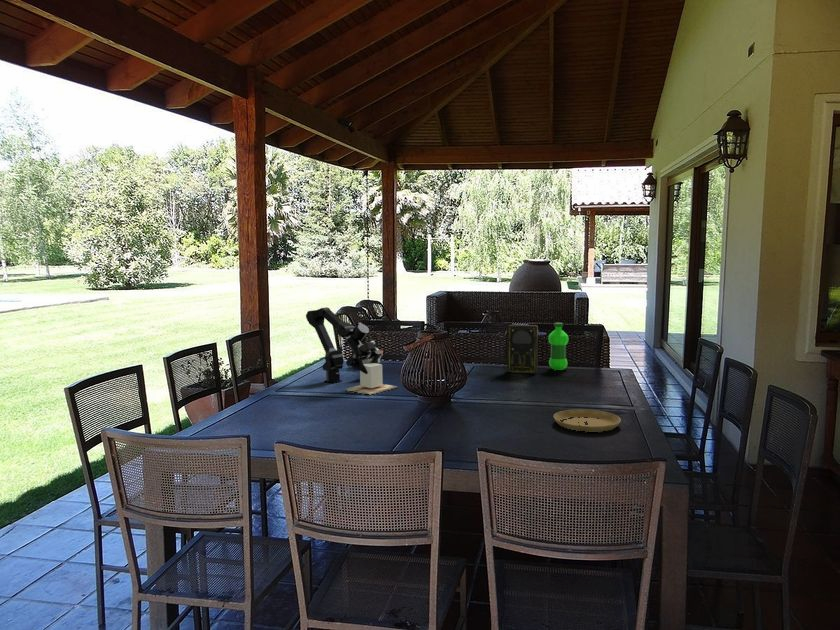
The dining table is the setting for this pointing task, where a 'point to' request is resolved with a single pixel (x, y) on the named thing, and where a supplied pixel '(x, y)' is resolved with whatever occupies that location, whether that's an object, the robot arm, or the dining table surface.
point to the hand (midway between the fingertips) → (373, 372)
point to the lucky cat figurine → (376, 350)
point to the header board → (371, 389)
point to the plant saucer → (594, 424)
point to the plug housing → (372, 376)
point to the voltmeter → (522, 348)
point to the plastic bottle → (558, 347)
